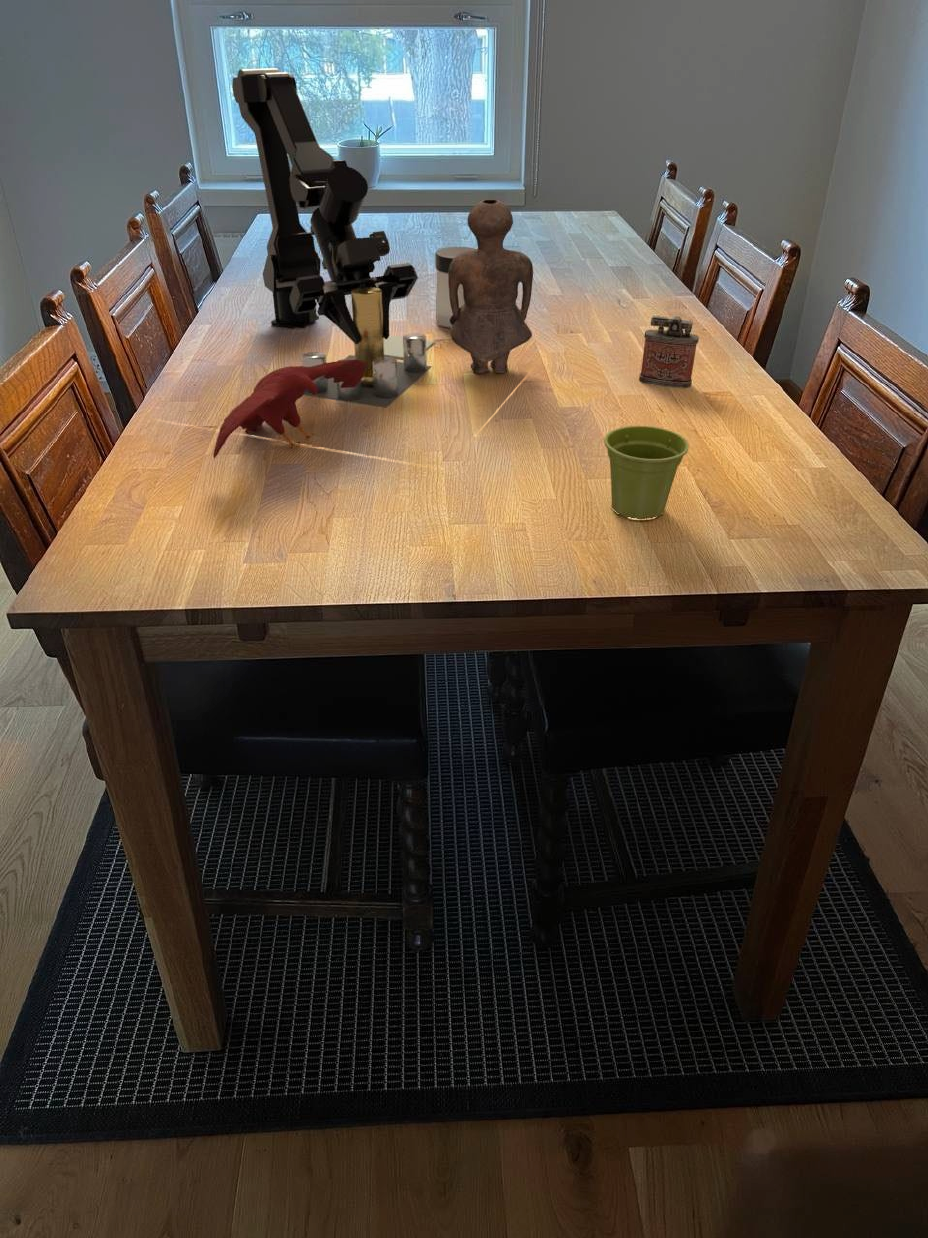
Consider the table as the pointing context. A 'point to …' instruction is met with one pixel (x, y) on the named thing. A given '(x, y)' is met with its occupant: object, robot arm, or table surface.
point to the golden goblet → (368, 328)
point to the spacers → (377, 369)
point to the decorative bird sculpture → (285, 397)
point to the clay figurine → (490, 291)
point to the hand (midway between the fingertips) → (372, 340)
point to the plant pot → (643, 468)
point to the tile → (397, 347)
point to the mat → (368, 390)
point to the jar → (446, 284)
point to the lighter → (669, 353)
